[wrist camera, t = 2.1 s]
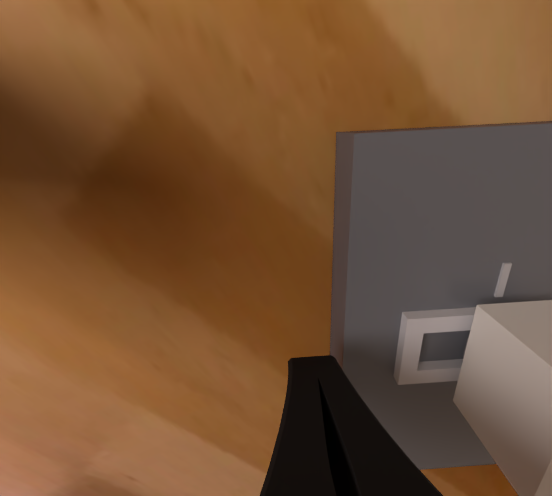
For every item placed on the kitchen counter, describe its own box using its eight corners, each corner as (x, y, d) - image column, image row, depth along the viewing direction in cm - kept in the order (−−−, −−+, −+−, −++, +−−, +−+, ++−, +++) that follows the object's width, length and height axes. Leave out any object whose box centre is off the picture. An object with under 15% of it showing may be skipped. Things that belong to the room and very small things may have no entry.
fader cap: (510, 386, 11) (624, 506, 7) (446, 391, 11) (531, 513, 7) (542, 292, 9) (705, 389, 6) (468, 297, 9) (588, 397, 6)
